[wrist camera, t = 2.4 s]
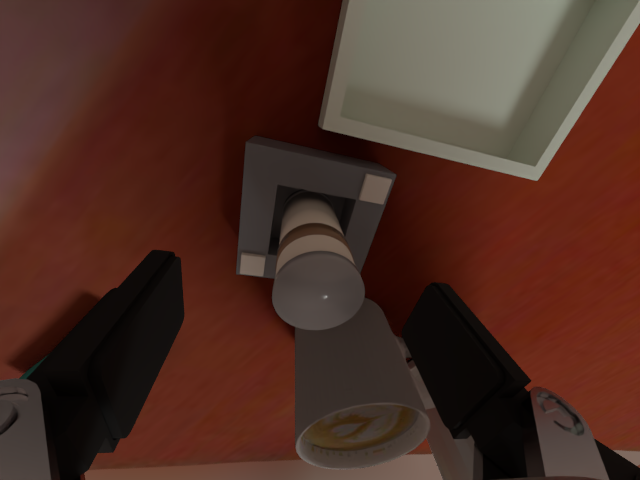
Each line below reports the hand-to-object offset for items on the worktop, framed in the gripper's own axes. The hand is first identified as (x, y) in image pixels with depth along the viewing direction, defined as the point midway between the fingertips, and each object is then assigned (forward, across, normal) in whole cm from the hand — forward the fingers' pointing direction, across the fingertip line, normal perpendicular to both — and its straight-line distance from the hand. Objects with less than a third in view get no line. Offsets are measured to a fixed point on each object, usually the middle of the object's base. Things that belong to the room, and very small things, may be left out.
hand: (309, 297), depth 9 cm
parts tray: (+11, -8, -11) cm, 17 cm away
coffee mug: (+11, -9, +14) cm, 19 cm away
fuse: (+10, -1, +1) cm, 10 cm away
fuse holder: (+11, -1, +1) cm, 11 cm away
